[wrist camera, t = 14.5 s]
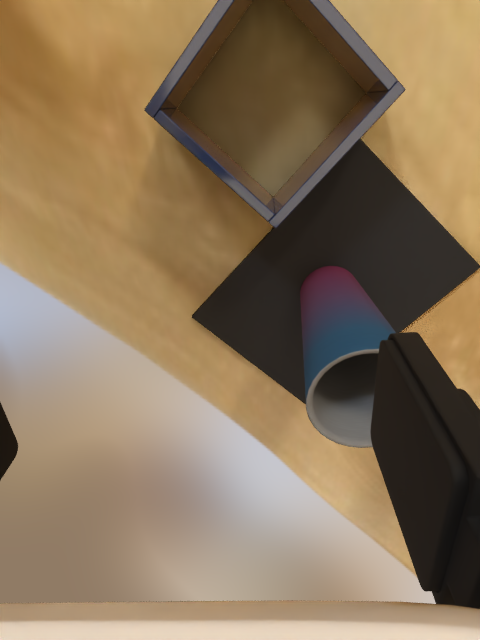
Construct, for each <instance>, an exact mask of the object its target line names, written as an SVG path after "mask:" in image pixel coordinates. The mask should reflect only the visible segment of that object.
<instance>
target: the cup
mask: <svg viewBox="0 0 480 640" xmlns="http://www.w3.org/2000/svg"><path fill="white" fill-rule="evenodd" d="M300 302H301V321H302V339H303V358H304V376H305V395H306V410H307V413H308V417H309V419H310V421H311V422H312V424H313V426H314V427H315V428H316V429H317V430H318V431H319V432H320V433H321V434H322V435H323V436H325V437H326V438H328V439H329V440H331V441H334V442H336V443H338V444H341V445H345V446H349V447H358V448H365V447H373V446H372V442H371V434H370V430H371V420H372V410H373V401H374V392H375V382H376V373H377V364H378V354H379V346H380V342H381V341H382V340H388V337H389V335H390V334H391V333H396V332H395V331H394V329H393V328H392V327H391V325H390V324H389V323H388V321H387V320H386V319H385V317H384V316H383V315H382V313H381V312H380V311H379V309H378V308H377V307H376V305H375V304H374V303H373V301H372V300H371V299H370V297H369V296H368V295H367V293H366V292H365V291H364V289H363V288H362V287H361V285H360V284H359V283H358V281H357V280H356V279H355V277H354V276H353V275H352V274H351V273H350V272H349V271H348V270H346V269H344V268H341V267H338V266H325V267H321V268H319V269H316V270H315V271H313V272H312V273H310V274H309V275H308V276H307V277H306V279H305V280H304V282H303V284H302V286H301V290H300Z"/></svg>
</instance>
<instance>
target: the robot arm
mask: <svg viewBox="0 0 480 640" xmlns="http://www.w3.org/2000/svg"><path fill="white" fill-rule="evenodd" d="M370 434H371V442H372V446H373V449H374V452H375V455H376V458H377V461H378V463H379V466H380V469H381V472H382V475H383V478H384V481H385V484H386V487H387V490H388V493H389V496H390V498H391V501H392V504H393V507H394V510H395V513H396V516H397V519H398V522H399V525H400V528H401V531H402V533H403V536H404V539H405V542H406V545H407V548H408V551H409V554H410V557H411V560H412V563H413V566H414V568H415V571H416V574H417V577H418V580H419V583H420V585H421V587H422V589H423V590H424V591H432V593H433V596H434V599H435V602H436V604H427V603H410V602H377V601H376V602H374V601H370V602H369V601H184V602H183V601H173V602H172V601H171V602H77V603H7V604H6V603H2V604H0V640H480V410H479V408H478V407H477V405H476V404H475V403H474V401H473V400H472V399H471V397H470V396H469V395H468V394H467V392H466V391H465V390H462V389H457V388H456V387H455V385H454V384H453V382H452V381H451V380H450V378H449V377H448V375H447V374H446V372H445V371H444V369H443V368H442V367H441V365H440V364H439V362H438V361H437V359H436V358H435V357H434V355H433V354H432V352H431V351H430V349H429V348H428V346H427V345H426V344H425V342H424V341H423V339H422V338H421V336H420V335H419V334H418V333H417V332H409V333H391V334H390V335H389V337H388V340H382V341H381V342H380V346H379V354H378V364H377V373H376V382H375V392H374V401H373V410H372V420H371V430H370ZM17 451H18V443H17V440H16V437H15V435H14V433H13V431H12V428H11V426H10V424H9V422H8V419H7V417H6V415H5V412H4V410H3V408H2V405H1V403H0V480H1V478H2V477H3V475H4V474H5V472H6V470H7V469H8V468H9V466H10V464H11V463H12V461H13V460H14V458H15V456H16V454H17Z"/></svg>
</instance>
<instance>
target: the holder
mask: <svg viewBox="0 0 480 640" xmlns="http://www.w3.org/2000/svg"><path fill="white" fill-rule="evenodd" d="M283 1H284V3H285V4H286V5H287V6H288V7H289V8H290V9H291V10H292V11H293V12H294V14H295V15H296V16H297V17H298V18H299V19H300V20H301V21H302V22H303V24H304V25H305V26H306V27H307V28H308V29H309V30H310V31H311V32H312V34H313V35H314V36H315V37H316V38H317V39H318V40H319V41H320V42H321V44H322V45H323V46H324V47H325V48H326V49H327V50H328V51H329V52H330V54H331V55H332V56H333V57H334V58H335V59H336V60H337V61H338V62H339V64H340V65H341V66H342V67H343V68H344V69H345V70H346V71H347V72H348V73H349V75H350V76H351V77H352V78H353V79H354V80H355V81H356V82H357V83H358V85H359V86H360V87H361V88H362V89H363V90H364V91H365V92H366V94H365V95H364V96H363V97H362V98H361V100H360V101H359V102H358V103H357V104H356V105H355V106H354V107H353V108H352V110H351V111H350V112H349V113H348V114H347V115H346V116H345V117H344V119H343V120H342V121H341V122H340V123H339V124H338V125H337V126H336V127H335V129H334V130H333V131H332V132H331V133H330V134H329V135H328V136H327V138H326V139H325V140H324V141H323V142H322V143H321V144H320V145H319V146H318V148H317V149H316V150H315V151H314V152H313V153H312V154H311V155H310V157H309V158H308V159H307V160H306V161H305V162H304V163H303V164H302V165H301V167H300V168H299V169H298V170H297V171H296V172H295V173H294V174H293V176H292V177H291V178H290V179H289V180H288V181H287V182H286V183H285V185H284V186H283V187H282V188H281V189H280V190H279V191H278V192H277V193H276V195H275V196H274V197H273V196H272V195H271V194H269V193H268V192H267V191H266V190H265V189H264V188H263V187H262V186H261V185H260V184H259V183H258V182H256V181H255V180H254V179H253V178H252V177H251V176H250V175H249V174H248V173H247V172H246V171H245V170H244V169H242V168H241V167H240V166H239V165H238V164H237V163H236V162H235V161H234V160H233V159H232V158H231V157H229V156H228V155H227V154H226V153H225V152H224V151H223V150H222V149H221V148H220V147H219V146H218V145H217V144H215V143H214V142H213V141H212V140H211V139H210V138H209V137H208V136H207V135H206V134H205V133H204V132H203V131H201V130H200V129H199V128H198V127H197V126H196V125H195V124H194V123H193V122H192V121H191V120H190V119H188V118H187V117H186V116H185V115H184V114H183V113H182V112H181V111H180V110H179V109H177V108H178V106H179V105H180V103H181V102H182V101H183V99H184V98H185V96H186V95H187V93H188V92H189V91H190V89H191V88H192V86H193V85H194V84H195V82H196V81H197V79H198V78H199V77H200V75H201V74H202V72H203V71H204V69H205V68H206V67H207V65H208V64H209V62H210V61H211V60H212V58H213V57H214V55H215V54H216V53H217V51H218V50H219V48H220V47H221V45H222V44H223V43H224V41H225V40H226V38H227V37H228V36H229V34H230V33H231V31H232V30H233V29H234V27H235V26H236V24H237V23H238V21H239V20H240V19H241V17H242V16H243V14H244V13H245V12H246V10H247V9H248V7H249V6H250V5H251V3H252V2H253V0H218V1H217V3H216V4H215V6H214V7H213V9H212V10H211V12H210V13H209V15H208V16H207V17H206V19H205V20H204V22H203V23H202V25H201V26H200V28H199V29H198V31H197V32H196V34H195V35H194V37H193V38H192V40H191V41H190V43H189V44H188V46H187V47H186V49H185V50H184V52H183V53H182V55H181V56H180V57H179V59H178V60H177V62H176V63H175V65H174V66H173V68H172V69H171V71H170V72H169V74H168V75H167V77H166V78H165V80H164V81H163V83H162V84H161V86H160V87H159V89H158V90H157V92H156V93H155V95H154V96H153V97H152V99H151V100H150V102H149V103H148V105H147V106H146V108H145V112H147V113H148V114H149V115H150V116H151V117H152V118H154V120H155V121H157V122H158V123H159V124H160V125H161V126H162V127H163V128H164V129H165V130H167V131H168V132H169V133H170V134H171V135H172V136H173V137H174V138H175V139H177V140H178V141H179V142H180V143H181V144H182V145H183V146H184V147H185V148H187V149H188V150H189V151H190V152H191V153H192V154H193V155H194V156H195V157H197V158H198V159H199V160H200V161H201V162H202V163H203V164H204V165H205V166H207V167H208V168H209V169H210V170H211V171H212V172H213V173H214V174H215V175H217V176H218V177H219V178H220V179H221V180H222V181H223V182H224V183H225V184H227V185H228V186H229V187H230V188H231V189H232V190H233V191H234V192H235V193H237V194H238V195H239V196H240V197H241V198H242V199H243V200H244V201H245V202H247V203H248V204H249V205H250V206H251V207H252V208H253V209H254V210H255V211H257V212H258V213H259V214H260V215H261V216H262V217H263V218H264V219H265V220H267V221H269V223H270V224H271V225H272V226H273V227H274V228H277V227H278V226H279V225H280V224H281V223H282V222H283V221H284V220H285V219H286V218H287V217H288V215H289V214H290V213H291V212H292V211H293V210H294V209H295V208H296V207H297V206H298V205H299V204H300V203H301V201H302V200H303V199H304V198H305V197H306V196H307V195H308V194H309V193H310V192H311V191H312V190H313V189H314V188H315V186H316V185H317V184H318V183H319V182H320V181H321V180H322V179H323V178H324V177H325V176H326V175H327V174H328V173H329V171H330V170H331V169H332V168H333V167H334V166H335V165H336V164H337V163H338V162H339V161H340V160H341V159H342V158H343V156H344V155H345V154H346V153H347V152H348V151H349V150H350V149H351V148H352V147H353V146H354V145H355V144H356V142H357V141H358V140H359V139H360V138H361V137H362V136H363V135H364V134H365V133H366V132H367V131H368V130H369V129H370V127H371V126H372V125H373V124H374V123H375V122H376V121H377V120H378V119H379V118H380V117H381V116H382V115H383V114H384V112H385V111H386V110H387V109H388V108H389V107H390V106H391V105H392V104H393V103H394V102H395V101H396V100H397V99H398V97H399V96H400V95H401V94H402V93H403V92H404V91H405V88H404V87H403V86H402V84H401V83H400V82H399V81H398V80H397V79H396V77H395V76H394V75H393V74H392V73H391V72H390V71H389V69H388V68H387V67H386V66H385V65H384V64H383V62H382V61H381V60H380V59H379V58H378V57H377V55H376V54H375V53H374V52H373V51H372V50H371V49H370V47H369V46H368V45H367V44H366V43H365V42H364V40H363V39H362V38H361V37H360V36H359V35H358V33H357V32H356V31H355V30H354V29H353V28H352V27H351V25H350V24H349V23H348V22H347V21H346V20H345V18H344V17H343V16H342V15H341V14H340V13H339V12H338V10H337V9H336V8H335V7H334V6H333V5H332V3H331V2H330V1H329V0H283Z"/></svg>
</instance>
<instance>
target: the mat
mask: <svg viewBox="0 0 480 640" xmlns="http://www.w3.org/2000/svg"><path fill="white" fill-rule="evenodd" d="M325 266H338V267H341V268H344V269H346V270H348V271H349V272H350V273H351V274H352V275H353V276H354V277H355V279H356V280H357V281H358V283H359V284H360V285H361V287H362V288H363V289H364V291H365V292H366V293H367V295H368V296H369V297H370V299H371V300H372V301H373V303H374V304H375V305H376V307H377V308H378V309H379V311H380V312H381V313H382V315H383V316H384V317H385V319H386V320H387V321H388V323H389V324H390V325H391V327H392V328H393V329H394V331H395V332H396V333H400V332H401V331H402V330H403V329H405V328H406V327H407V326H408V325H410V324H411V323H412V322H413V321H415V320H416V319H417V318H418V317H420V316H421V315H422V314H423V313H424V312H426V311H427V310H428V309H429V308H431V307H432V306H433V305H434V304H436V303H437V302H438V301H439V300H441V299H442V298H443V297H444V296H445V295H447V294H448V293H449V292H450V291H452V290H453V289H454V288H455V287H457V286H458V285H459V284H460V283H462V282H463V281H464V280H465V279H467V278H468V277H469V276H470V275H471V274H473V273H474V272H475V271H476V270H478V269H479V268H480V265H479V264H478V263H477V262H476V261H475V260H474V259H473V258H472V257H471V256H470V255H469V254H468V253H467V252H466V250H465V249H464V248H463V247H462V246H461V245H460V244H459V243H458V242H457V241H456V240H455V239H454V238H453V237H452V236H451V235H450V234H449V232H448V231H447V230H446V229H445V228H444V227H443V226H442V225H441V224H440V223H439V222H438V221H437V220H436V219H435V218H434V217H433V216H432V214H431V213H430V212H429V211H428V210H427V209H426V208H425V207H424V206H423V205H422V204H421V203H420V202H419V201H418V200H417V199H416V198H415V196H414V195H413V194H412V193H411V192H410V191H409V190H408V189H407V188H406V187H405V186H404V185H403V184H402V183H401V182H400V181H399V180H398V178H397V177H396V176H395V175H394V174H393V173H392V172H391V171H390V170H389V169H388V168H387V167H386V166H385V165H384V164H383V163H382V162H381V160H380V159H379V158H378V157H377V156H376V155H375V154H374V153H373V152H372V151H371V150H370V149H369V148H368V147H367V146H366V145H365V144H364V142H363V141H362V140H361V139H359V140H358V141H357V142H356V144H355V145H354V146H353V147H352V148H351V149H350V150H349V151H348V152H347V153H346V154H345V155H344V156H343V158H342V159H341V160H340V161H339V162H338V163H337V164H336V165H335V166H334V167H333V168H332V169H331V170H330V171H329V173H328V174H327V175H326V176H325V177H324V178H323V179H322V180H321V181H320V182H319V183H318V184H317V185H316V186H315V188H314V189H313V190H312V191H311V192H310V193H309V194H308V195H307V196H306V197H305V198H304V199H303V200H302V201H301V203H300V204H299V205H298V206H297V207H296V208H295V209H294V210H293V211H292V212H291V213H290V214H289V215H288V217H287V218H286V219H285V220H284V221H283V222H282V223H281V224H280V225H279V226H278V227H277V228H273V229H272V230H271V231H270V232H269V233H268V234H267V235H266V236H265V237H264V239H263V240H262V241H261V242H260V243H259V244H258V245H257V246H256V247H255V248H254V249H253V250H252V251H251V253H250V254H249V255H248V256H247V257H246V258H245V259H244V260H243V261H242V262H241V263H240V264H239V265H238V267H237V268H236V269H235V270H234V271H233V272H232V273H231V274H230V275H229V276H228V277H227V278H226V279H225V281H224V282H223V283H222V284H221V285H220V286H219V287H218V288H217V289H216V290H215V291H214V292H213V294H212V295H211V296H210V297H209V298H208V299H207V300H206V301H205V302H204V303H203V304H202V305H201V306H200V308H199V309H198V310H197V311H196V312H195V313H194V314H193V315H192V318H194V319H195V320H196V321H197V322H199V323H200V324H201V325H203V326H204V327H205V328H207V329H208V330H209V331H211V332H212V333H213V334H214V335H216V336H217V337H218V338H220V339H221V340H222V341H224V342H225V343H226V344H228V345H229V346H230V347H231V348H233V349H234V350H235V351H237V352H238V353H239V354H241V355H242V356H243V357H245V358H246V359H247V360H248V361H250V362H251V363H252V364H254V365H255V366H256V367H258V368H259V369H260V370H262V371H263V372H264V373H265V374H267V375H268V376H269V377H271V378H272V379H273V380H275V381H276V382H277V383H278V384H280V385H281V386H282V387H284V388H285V389H286V390H288V391H289V392H290V393H292V394H293V395H294V396H295V397H297V398H298V399H299V400H301V401H302V402H303V403H305V404H306V395H305V376H304V358H303V339H302V321H301V302H300V290H301V286H302V284H303V282H304V280H305V279H306V277H307V276H308V275H309V274H310V273H312V272H313V271H315V270H316V269H319V268H321V267H325Z"/></svg>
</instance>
